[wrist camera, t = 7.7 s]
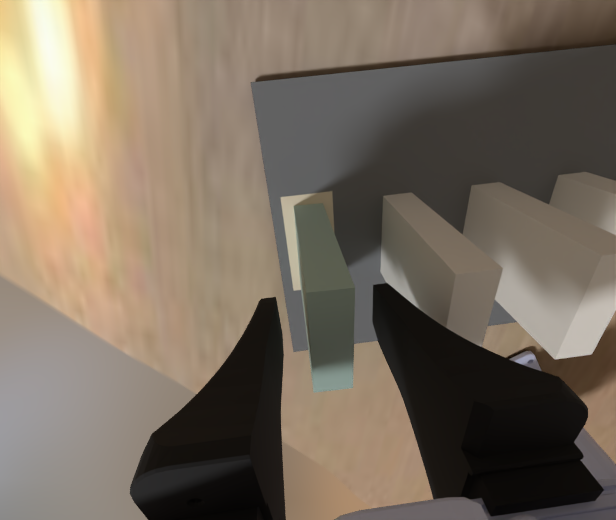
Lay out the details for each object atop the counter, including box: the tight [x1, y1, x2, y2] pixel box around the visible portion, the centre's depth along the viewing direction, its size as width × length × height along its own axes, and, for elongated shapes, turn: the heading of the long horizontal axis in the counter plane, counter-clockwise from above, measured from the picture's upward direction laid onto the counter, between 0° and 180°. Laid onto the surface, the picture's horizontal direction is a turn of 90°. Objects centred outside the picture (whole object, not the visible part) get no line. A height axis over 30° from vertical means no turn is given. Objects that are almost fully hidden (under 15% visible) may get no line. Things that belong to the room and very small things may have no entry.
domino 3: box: [463, 182, 616, 360], centre depth 15 cm, size 2×5×8 cm, turn 6°
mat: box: [251, 44, 616, 352], centre depth 19 cm, size 24×17×1 cm
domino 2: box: [380, 192, 503, 347], centre depth 15 cm, size 2×5×8 cm, turn 5°
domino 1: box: [294, 203, 355, 392], centre depth 15 cm, size 2×5×8 cm, turn 4°
